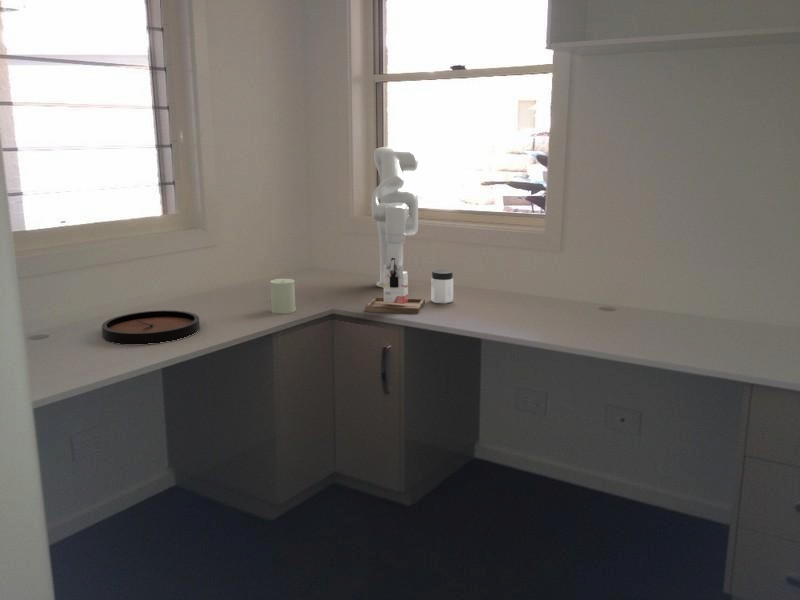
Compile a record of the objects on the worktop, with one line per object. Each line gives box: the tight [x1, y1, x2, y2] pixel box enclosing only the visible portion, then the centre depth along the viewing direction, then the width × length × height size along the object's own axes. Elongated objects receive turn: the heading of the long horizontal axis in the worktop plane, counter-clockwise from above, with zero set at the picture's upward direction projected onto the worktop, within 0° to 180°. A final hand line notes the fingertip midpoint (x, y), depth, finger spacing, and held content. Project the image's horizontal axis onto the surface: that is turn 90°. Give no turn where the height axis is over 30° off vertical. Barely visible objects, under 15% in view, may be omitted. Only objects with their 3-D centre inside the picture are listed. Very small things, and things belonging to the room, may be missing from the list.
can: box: [269, 278, 297, 315], centre depth 275 cm, size 9×9×12 cm
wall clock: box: [101, 309, 201, 345], centre depth 248 cm, size 31×4×31 cm
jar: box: [430, 269, 454, 304], centre depth 290 cm, size 9×8×12 cm
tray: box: [365, 296, 426, 315], centre depth 280 cm, size 16×20×2 cm
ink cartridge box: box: [383, 265, 409, 304], centre depth 279 cm, size 9×5×15 cm, turn 68°
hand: (395, 285), depth 279 cm, fingers closed on ink cartridge box, 5 cm apart
